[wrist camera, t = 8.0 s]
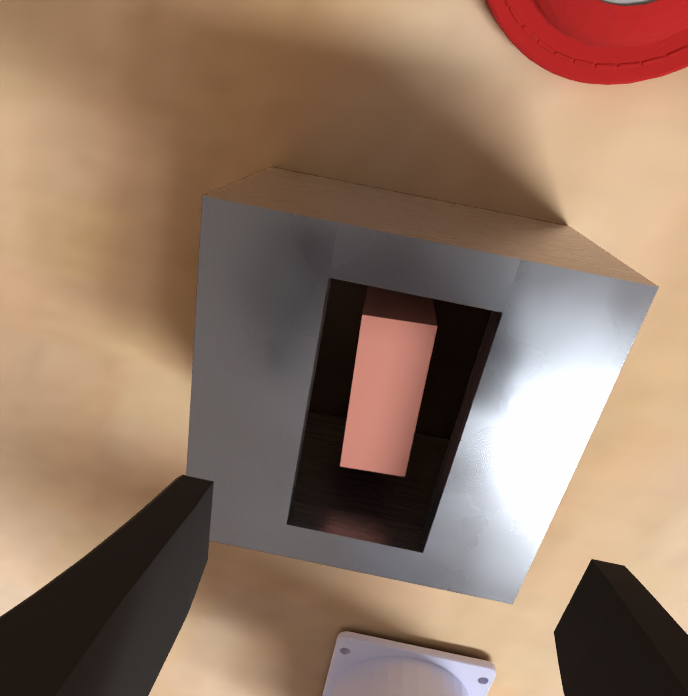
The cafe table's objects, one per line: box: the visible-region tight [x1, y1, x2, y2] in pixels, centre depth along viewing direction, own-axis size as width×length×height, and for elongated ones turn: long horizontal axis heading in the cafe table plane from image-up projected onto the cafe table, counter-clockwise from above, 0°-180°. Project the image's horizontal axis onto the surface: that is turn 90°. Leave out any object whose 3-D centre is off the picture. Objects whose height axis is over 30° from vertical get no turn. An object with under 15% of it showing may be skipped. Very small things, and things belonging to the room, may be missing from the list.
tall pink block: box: [340, 286, 437, 477], centre depth 17 cm, size 5×2×5 cm, turn 173°
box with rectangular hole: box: [186, 167, 659, 604], centre depth 16 cm, size 10×10×6 cm
